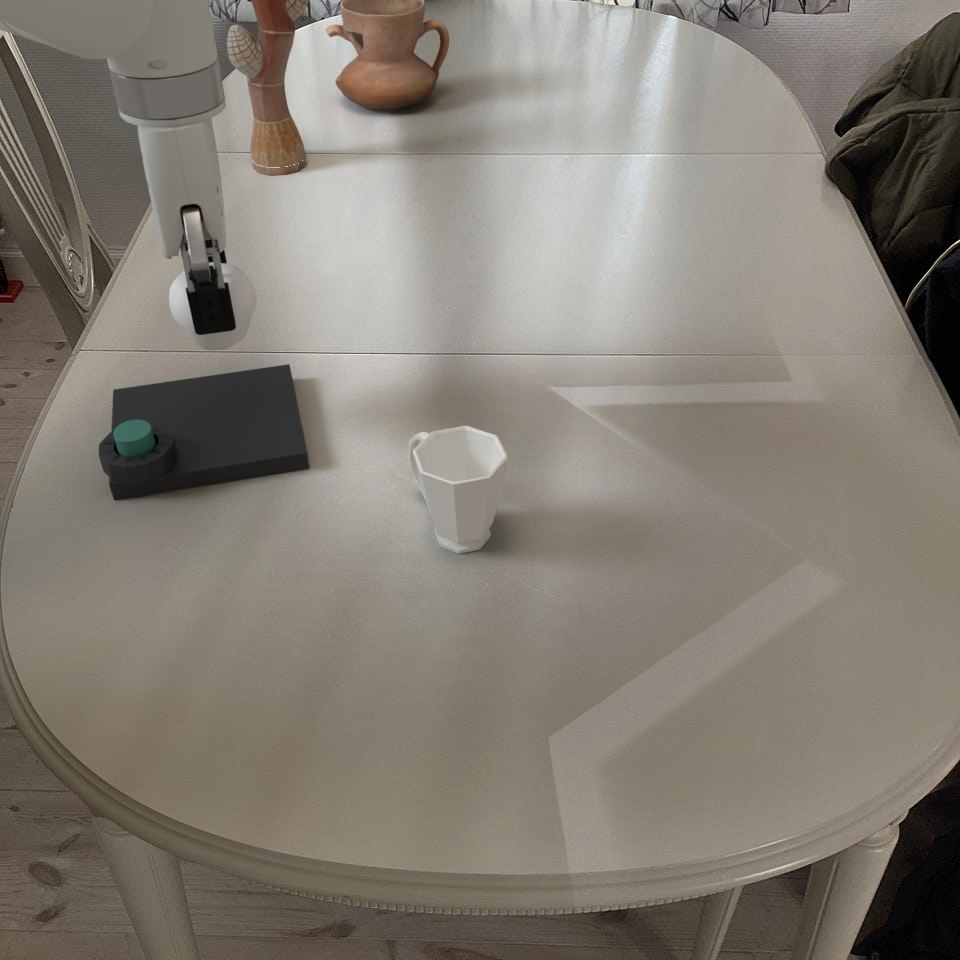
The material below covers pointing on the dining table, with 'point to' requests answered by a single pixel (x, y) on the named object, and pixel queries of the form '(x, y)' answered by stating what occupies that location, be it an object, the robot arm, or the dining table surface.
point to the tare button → (134, 438)
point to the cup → (459, 483)
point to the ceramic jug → (387, 52)
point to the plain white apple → (241, 303)
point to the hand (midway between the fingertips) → (213, 305)
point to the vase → (270, 84)
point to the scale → (207, 431)
